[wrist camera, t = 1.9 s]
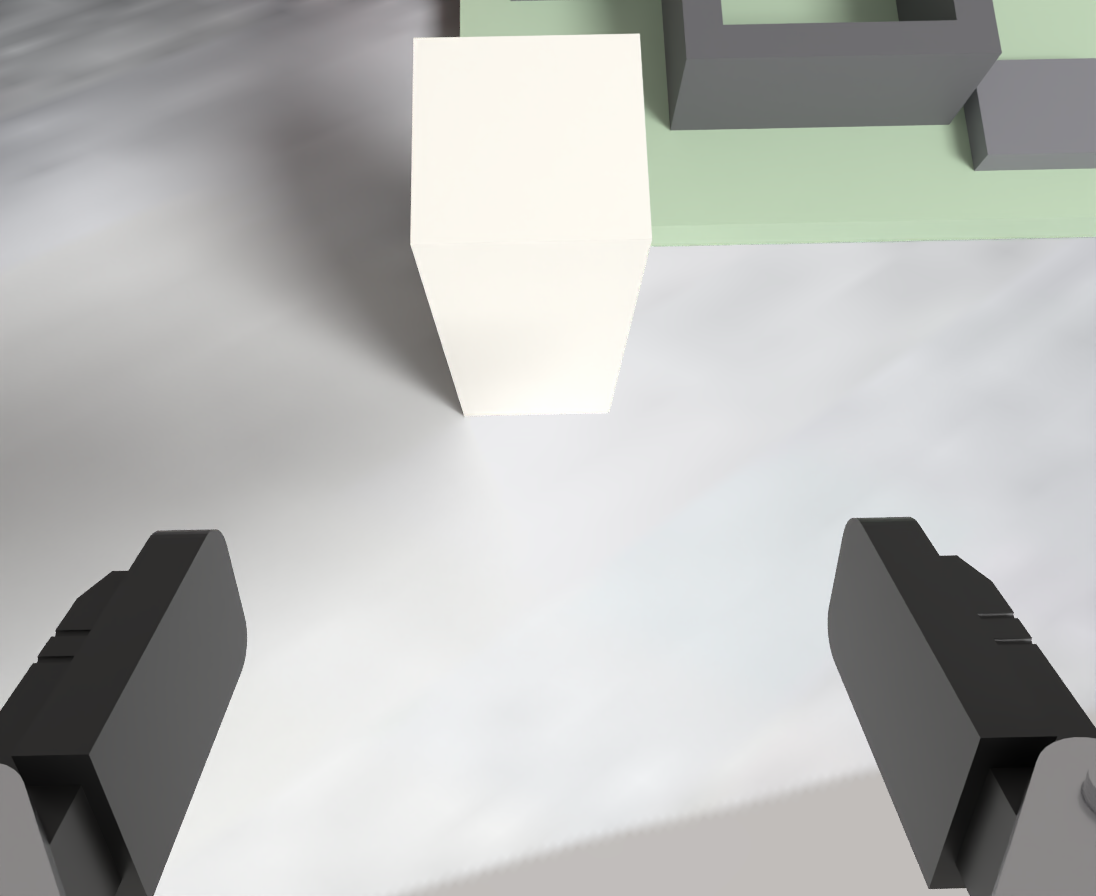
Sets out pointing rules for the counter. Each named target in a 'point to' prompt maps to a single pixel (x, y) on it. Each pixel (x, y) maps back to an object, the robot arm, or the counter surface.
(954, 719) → the robot arm
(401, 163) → the counter surface
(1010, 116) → the board
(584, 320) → the plug
